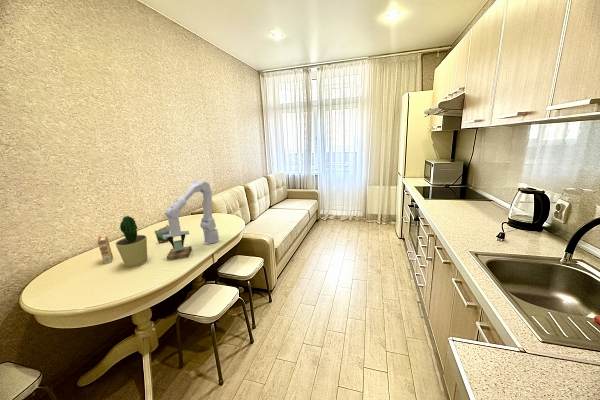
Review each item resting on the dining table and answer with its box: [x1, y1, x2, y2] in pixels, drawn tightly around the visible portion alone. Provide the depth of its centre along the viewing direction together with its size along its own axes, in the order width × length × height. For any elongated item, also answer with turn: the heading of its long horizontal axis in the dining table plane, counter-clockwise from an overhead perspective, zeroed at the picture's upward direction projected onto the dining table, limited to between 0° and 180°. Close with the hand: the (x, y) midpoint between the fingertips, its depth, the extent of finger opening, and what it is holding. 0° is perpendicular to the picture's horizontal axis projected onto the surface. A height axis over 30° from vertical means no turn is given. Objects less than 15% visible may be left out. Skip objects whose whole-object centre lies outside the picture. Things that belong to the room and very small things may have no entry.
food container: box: [154, 224, 171, 244], centre depth 175 cm, size 12×6×10 cm, turn 168°
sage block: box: [173, 239, 183, 251], centre depth 151 cm, size 4×4×5 cm
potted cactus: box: [114, 215, 148, 268], centre depth 141 cm, size 15×15×30 cm
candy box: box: [96, 234, 114, 265], centre depth 147 cm, size 9×4×15 cm, turn 35°
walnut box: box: [166, 245, 192, 261], centre depth 152 cm, size 12×12×3 cm
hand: (178, 246), depth 151 cm, fingers closed on sage block, 4 cm apart
